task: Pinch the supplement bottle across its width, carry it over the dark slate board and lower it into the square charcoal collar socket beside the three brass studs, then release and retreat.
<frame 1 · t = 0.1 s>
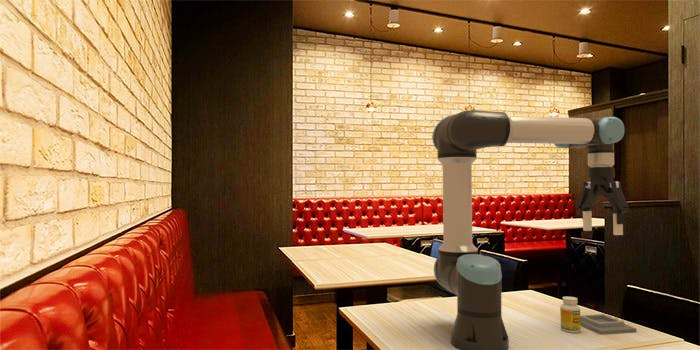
hand: (602, 232, 146), 28 cm above the table, fingers open, 13 cm apart
supplement bottle: (570, 331, 135), on the table
socket board: (601, 325, 139), on the table
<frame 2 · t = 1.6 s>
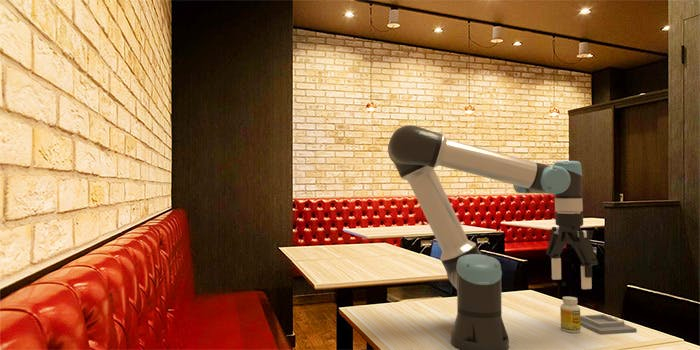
hand: (570, 283, 136), 14 cm above the table, fingers open, 13 cm apart
nothing on the table moved.
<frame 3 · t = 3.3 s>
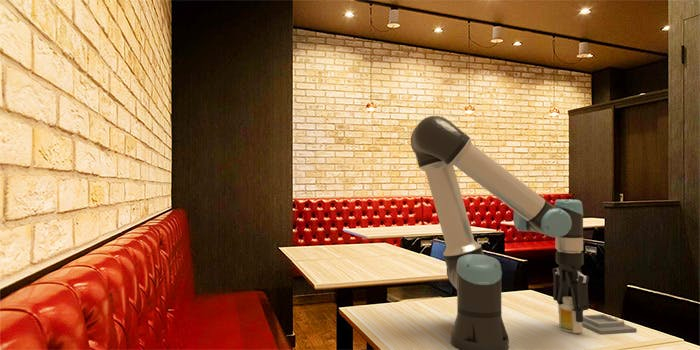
hand: (570, 329, 135), 0 cm above the table, fingers closed on supplement bottle, 5 cm apart
supplement bottle: (570, 331, 135), on the table, touching gripper
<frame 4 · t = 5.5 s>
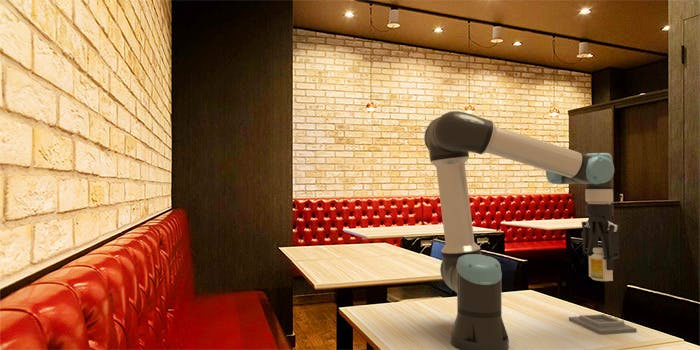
hand: (600, 278, 140), 14 cm above the table, fingers closed on supplement bottle, 5 cm apart
supplement bottle: (600, 280, 140), point 14 cm above the table, touching gripper
when the fingers open (3 cm above the table, at t = 7.7 s): supplement bottle drops 2 cm, resting on socket board.
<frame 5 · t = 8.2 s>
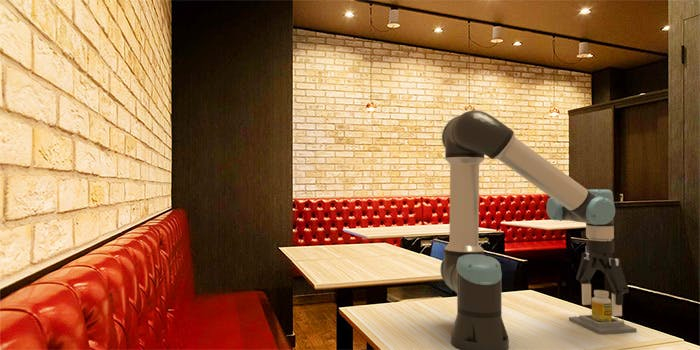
hand: (601, 309, 139), 5 cm above the table, fingers open, 12 cm apart
supplement bottle: (601, 323, 139), point 1 cm above the table, touching socket board
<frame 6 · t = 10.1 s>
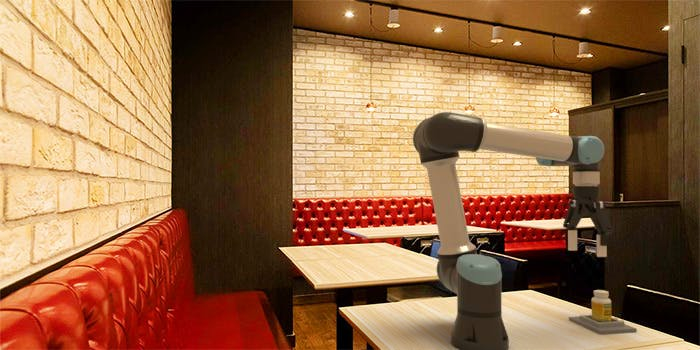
hand: (586, 253, 142), 22 cm above the table, fingers open, 13 cm apart
nothing on the table moved.
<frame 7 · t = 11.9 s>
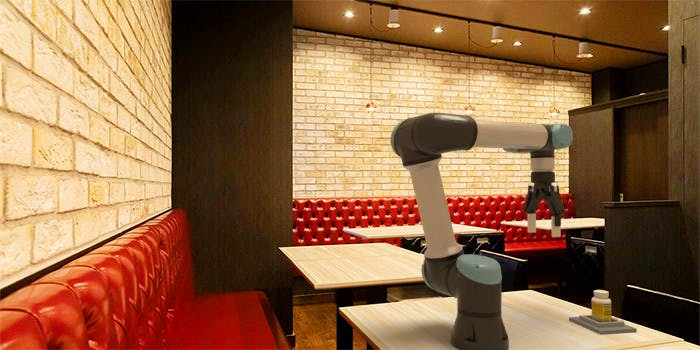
hand: (543, 234, 152), 27 cm above the table, fingers open, 13 cm apart
nothing on the table moved.
at the end: supplement bottle 0.1 cm from the socket board (horizontally); supplement bottle tilted 0°; the gripper is holding nothing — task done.
